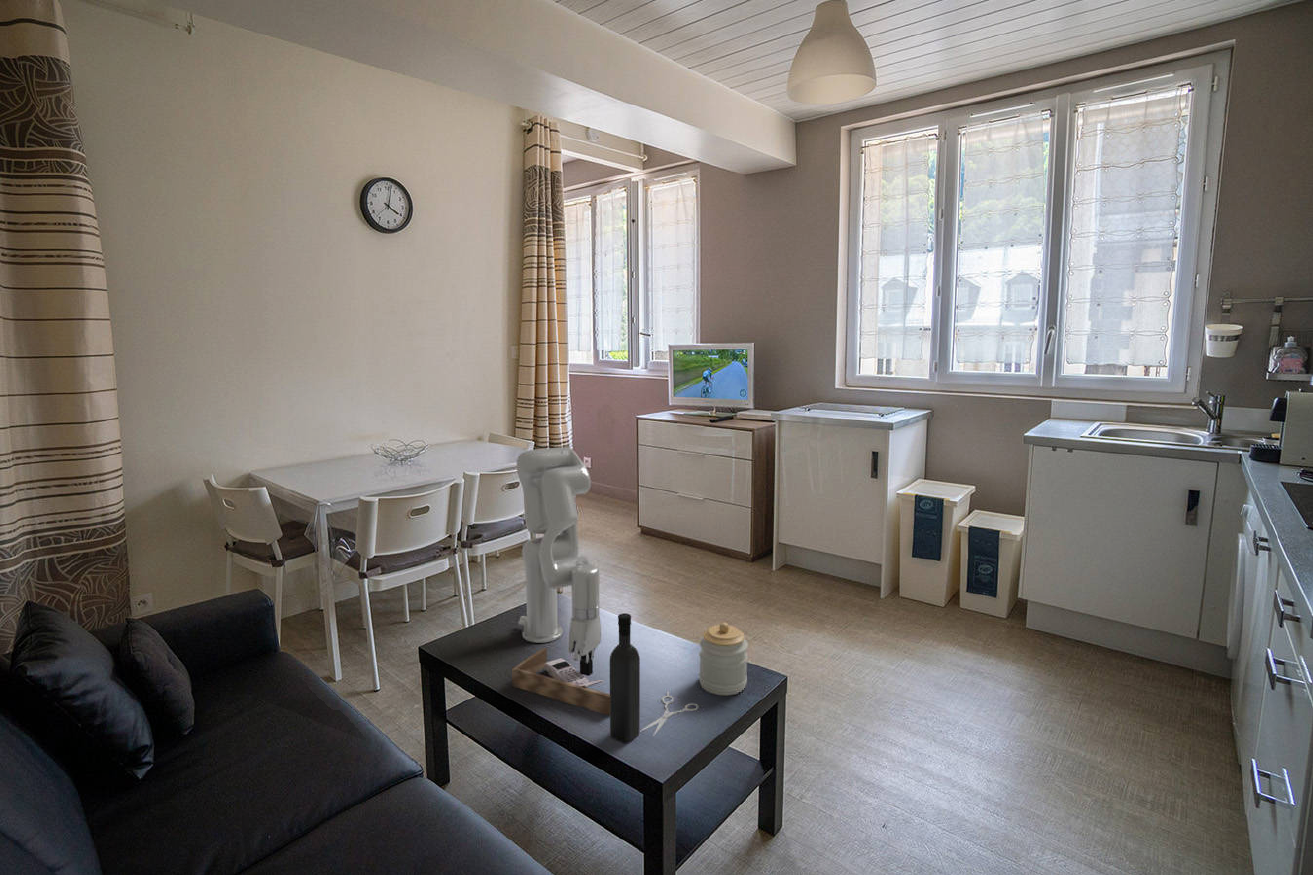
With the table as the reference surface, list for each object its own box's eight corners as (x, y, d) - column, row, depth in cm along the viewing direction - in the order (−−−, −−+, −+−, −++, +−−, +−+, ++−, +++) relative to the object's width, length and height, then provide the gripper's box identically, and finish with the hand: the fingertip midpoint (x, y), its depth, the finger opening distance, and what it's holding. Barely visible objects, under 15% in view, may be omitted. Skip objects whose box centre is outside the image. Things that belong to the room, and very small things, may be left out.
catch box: (512, 686, 182) (512, 668, 181) (544, 663, 194) (543, 647, 193) (611, 715, 168) (611, 697, 167) (638, 689, 180) (638, 672, 179)
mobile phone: (585, 686, 171) (540, 649, 191) (585, 707, 172) (540, 668, 192) (605, 679, 175) (558, 643, 194) (605, 700, 176) (558, 663, 195)
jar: (746, 673, 189) (747, 614, 187) (747, 698, 177) (749, 634, 174) (699, 671, 191) (700, 612, 188) (698, 695, 178) (699, 632, 175)
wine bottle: (607, 736, 159) (607, 616, 155) (622, 725, 164) (622, 608, 159) (627, 745, 156) (627, 622, 151) (641, 733, 161) (641, 614, 156)
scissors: (702, 702, 174) (664, 740, 157) (702, 705, 174) (664, 744, 157) (667, 691, 179) (626, 727, 162) (667, 694, 179) (626, 730, 162)
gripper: (588, 598, 191) (589, 659, 194) (558, 618, 178) (559, 682, 181) (611, 603, 188) (611, 665, 190) (582, 623, 175) (582, 689, 177)
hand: (586, 673), depth 186 cm, fingers closed
